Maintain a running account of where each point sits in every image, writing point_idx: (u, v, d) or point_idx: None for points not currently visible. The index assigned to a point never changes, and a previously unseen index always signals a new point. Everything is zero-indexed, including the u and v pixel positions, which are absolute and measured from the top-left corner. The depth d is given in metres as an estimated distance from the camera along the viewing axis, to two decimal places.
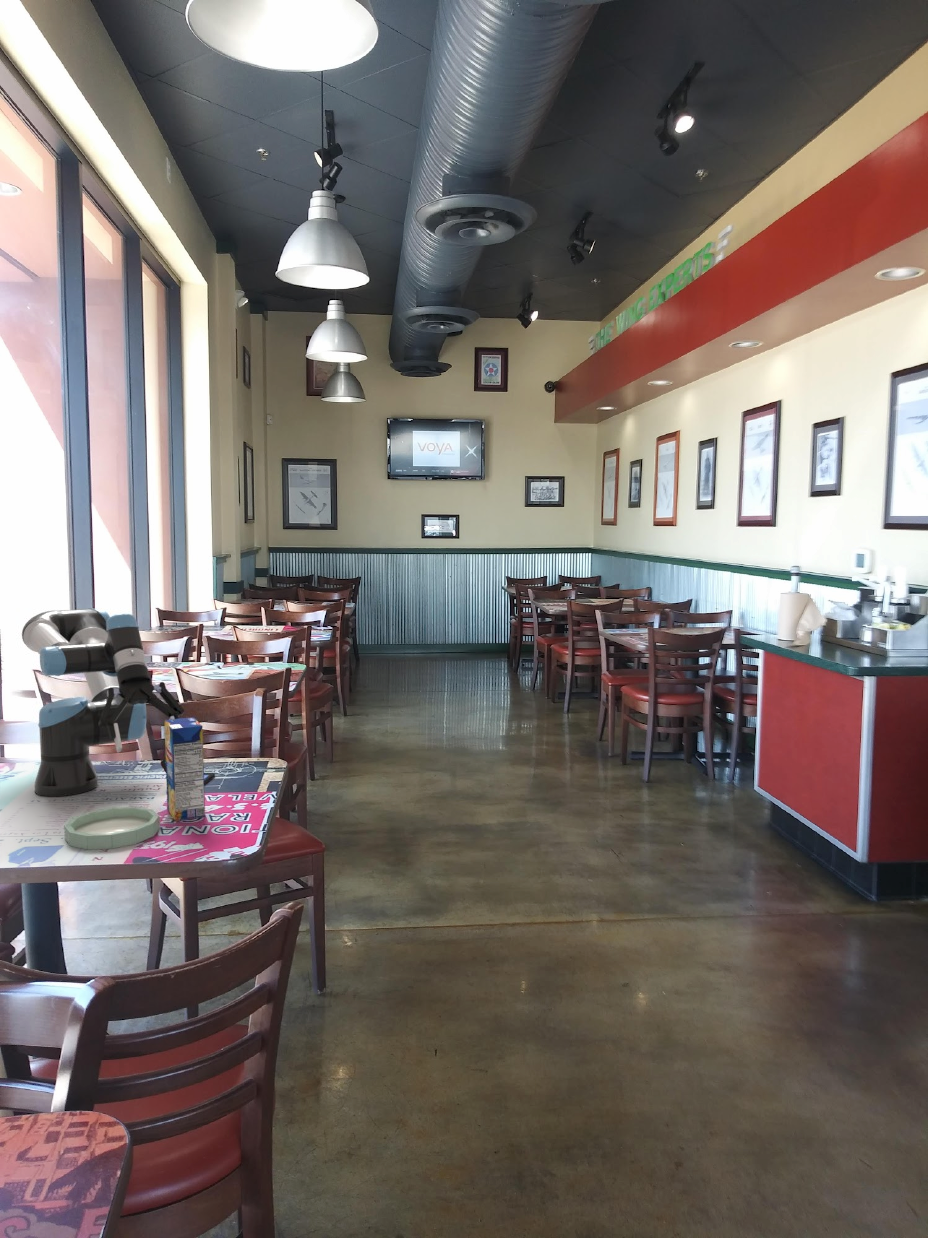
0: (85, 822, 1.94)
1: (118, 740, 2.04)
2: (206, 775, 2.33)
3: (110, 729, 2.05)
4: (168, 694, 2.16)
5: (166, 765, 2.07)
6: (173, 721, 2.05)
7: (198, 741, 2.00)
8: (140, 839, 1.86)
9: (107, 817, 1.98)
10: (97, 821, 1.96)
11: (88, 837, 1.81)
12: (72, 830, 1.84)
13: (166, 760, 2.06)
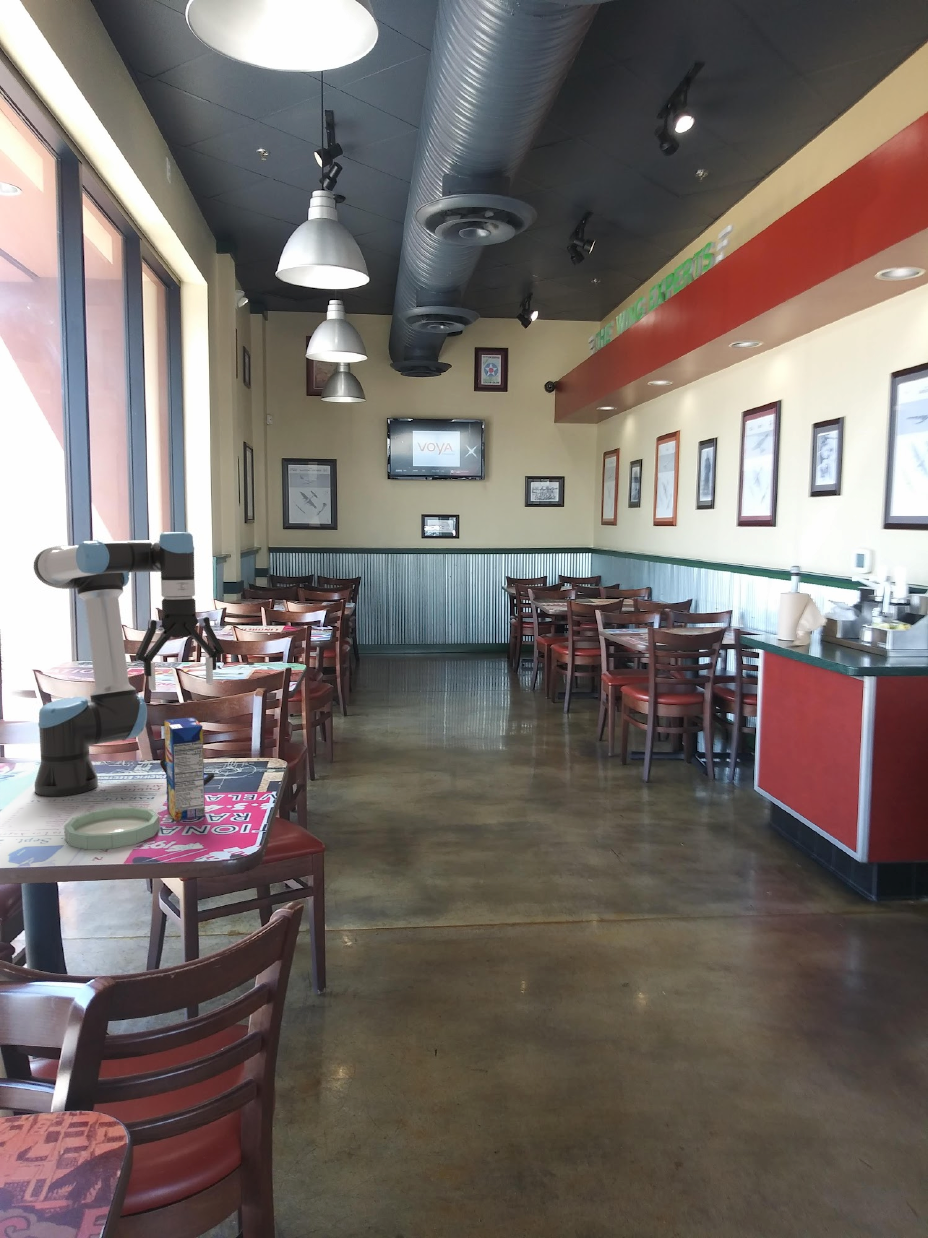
0: (85, 822, 1.94)
1: (153, 682, 1.97)
2: (205, 775, 2.33)
3: (146, 668, 1.96)
4: (211, 632, 2.04)
5: (166, 765, 2.07)
6: (173, 721, 2.05)
7: (198, 741, 2.00)
8: (140, 839, 1.86)
9: (107, 817, 1.98)
10: (97, 821, 1.96)
11: (88, 837, 1.81)
12: (72, 830, 1.84)
13: (166, 760, 2.06)
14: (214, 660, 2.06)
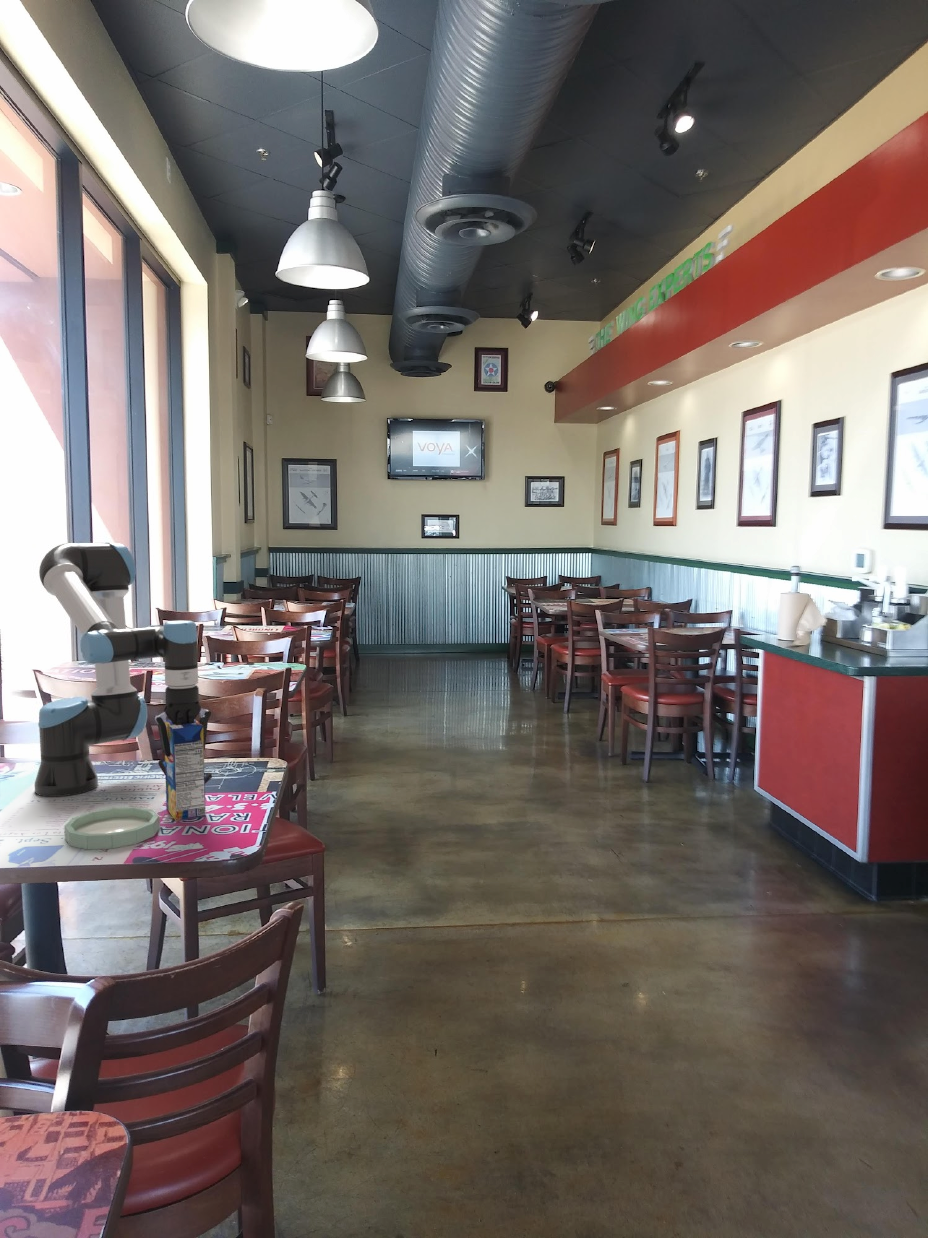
0: (85, 822, 1.94)
1: None
2: None
3: None
4: (205, 726, 2.05)
5: (165, 765, 2.06)
6: None
7: (199, 741, 2.00)
8: (140, 839, 1.86)
9: (107, 817, 1.98)
10: (97, 821, 1.96)
11: (88, 837, 1.81)
12: (72, 830, 1.84)
13: (165, 760, 2.06)
14: None
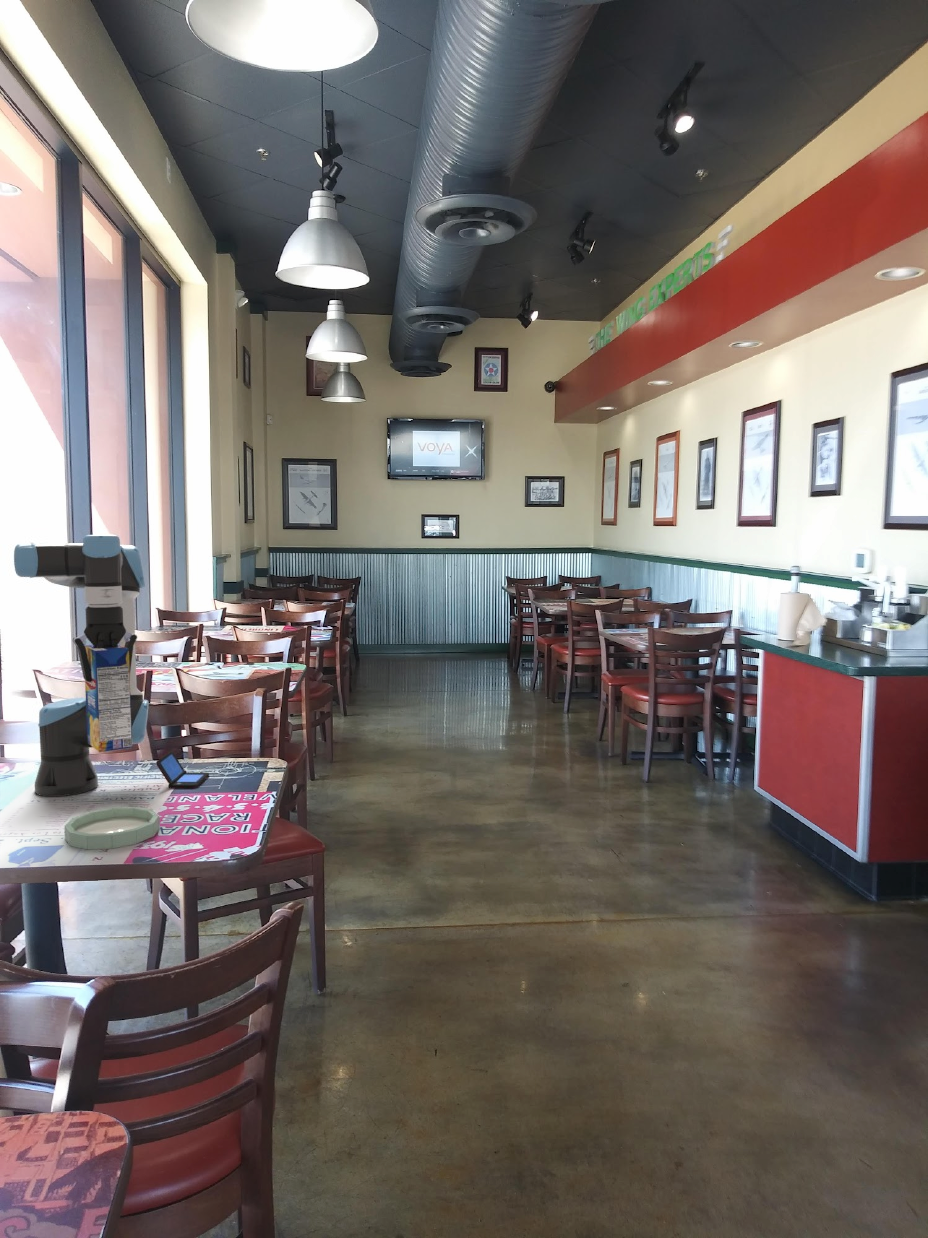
0: (85, 822, 1.94)
1: None
2: (201, 775, 2.34)
3: None
4: (130, 651, 1.89)
5: (86, 695, 1.89)
6: None
7: (124, 665, 1.84)
8: (140, 839, 1.86)
9: (107, 817, 1.98)
10: (97, 821, 1.96)
11: (88, 837, 1.81)
12: (72, 830, 1.84)
13: (86, 689, 1.89)
14: None
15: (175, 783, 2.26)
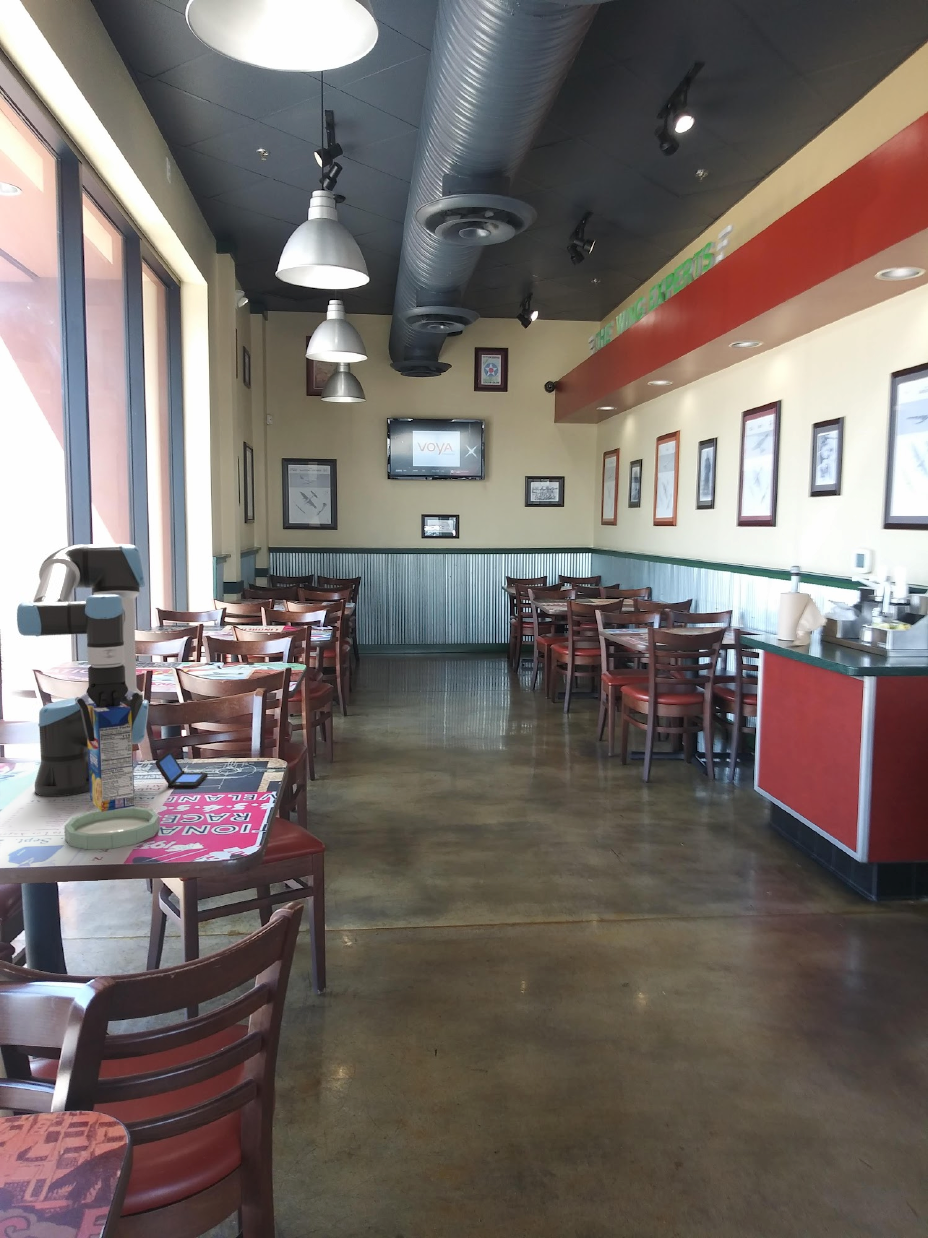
0: (85, 822, 1.94)
1: None
2: (199, 775, 2.34)
3: None
4: (132, 709, 1.90)
5: (88, 753, 1.90)
6: None
7: (127, 725, 1.85)
8: (140, 839, 1.86)
9: (107, 817, 1.98)
10: (97, 821, 1.96)
11: (88, 837, 1.81)
12: (72, 830, 1.84)
13: (88, 747, 1.90)
14: None
15: (174, 783, 2.26)
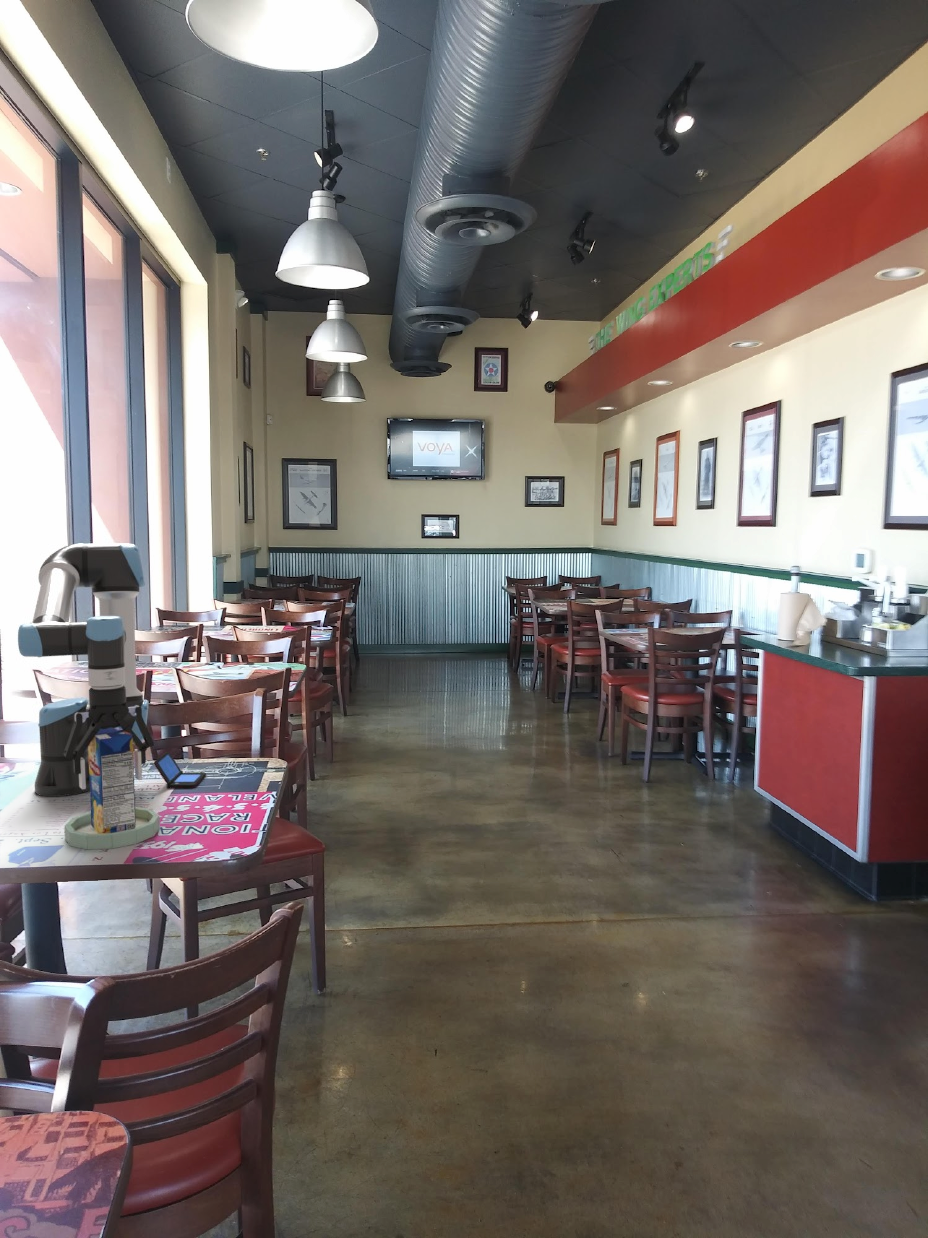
0: (85, 822, 1.94)
1: (82, 780, 1.85)
2: (198, 775, 2.34)
3: (76, 765, 1.84)
4: (142, 723, 1.91)
5: (90, 779, 1.91)
6: (98, 731, 1.90)
7: (128, 752, 1.86)
8: (140, 839, 1.86)
9: None
10: None
11: (88, 837, 1.81)
12: (72, 830, 1.84)
13: (90, 773, 1.91)
14: (143, 753, 1.93)
15: (173, 783, 2.26)
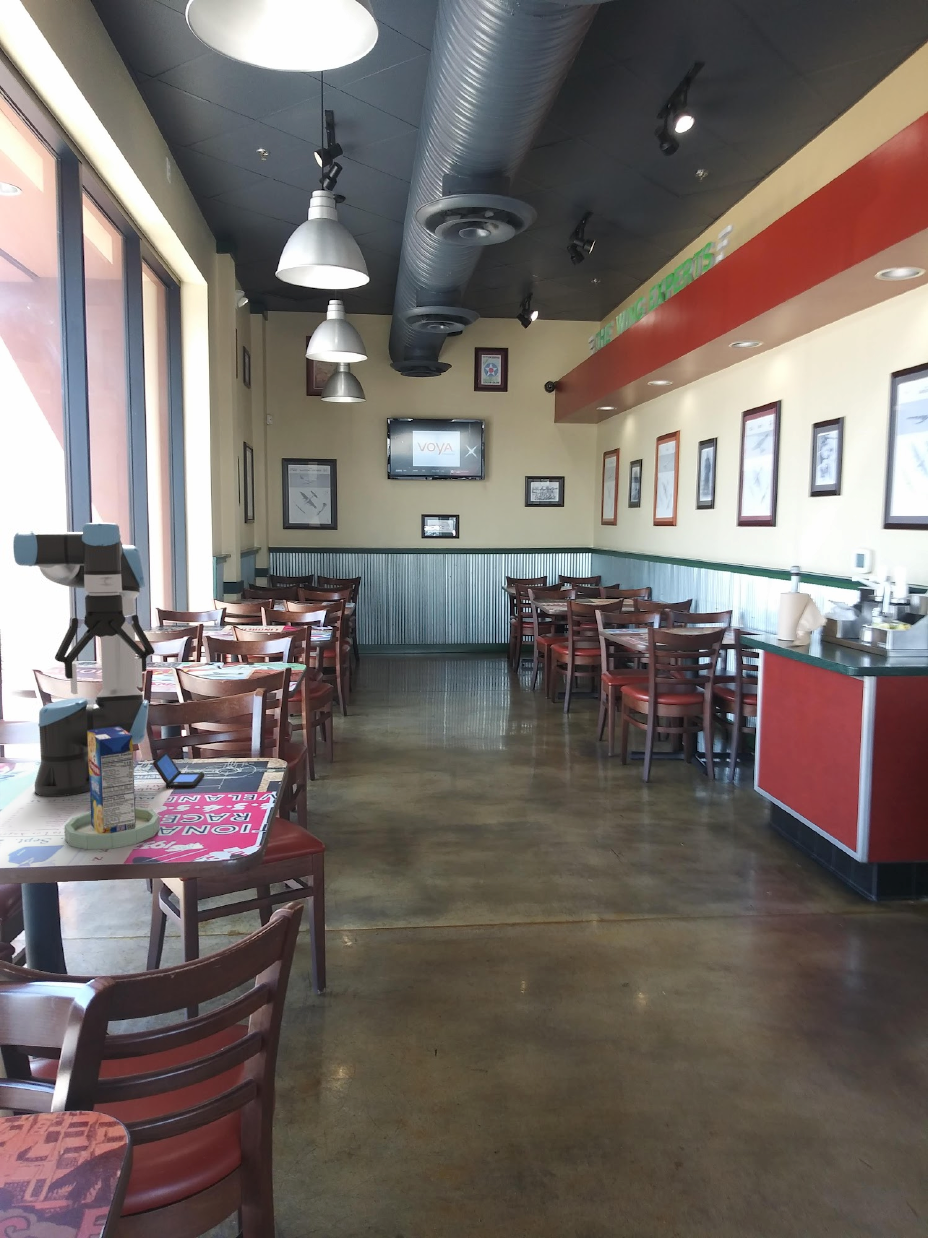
0: (85, 822, 1.94)
1: (74, 685, 1.82)
2: (196, 774, 2.34)
3: (67, 669, 1.82)
4: (140, 631, 1.90)
5: (90, 779, 1.91)
6: (98, 731, 1.90)
7: (128, 752, 1.86)
8: (140, 839, 1.86)
9: None
10: None
11: (88, 837, 1.81)
12: (72, 830, 1.84)
13: (90, 773, 1.91)
14: (144, 661, 1.91)
15: (172, 783, 2.26)
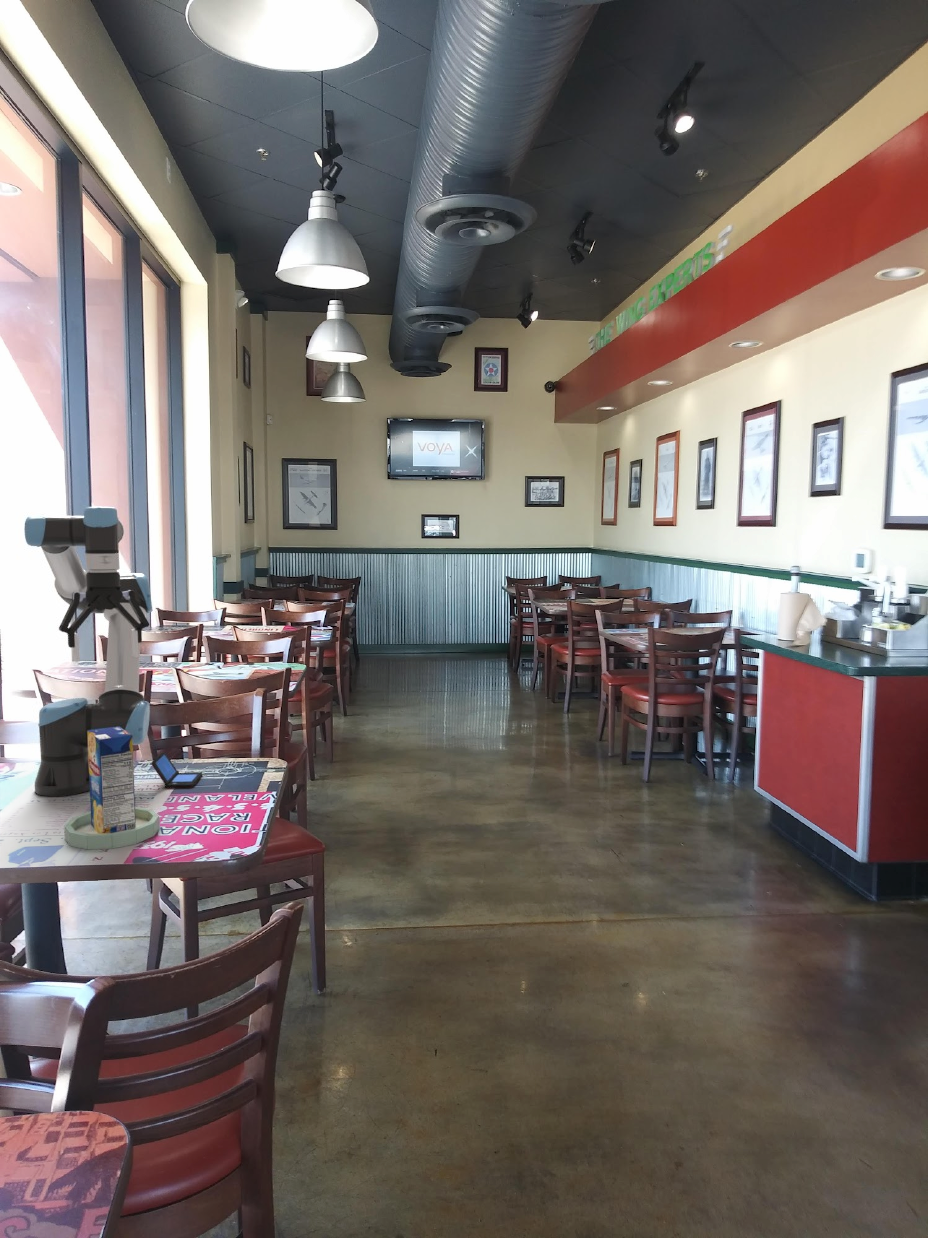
0: (85, 822, 1.94)
1: (76, 653, 2.01)
2: (194, 774, 2.34)
3: (70, 639, 2.01)
4: (136, 605, 2.09)
5: (90, 779, 1.91)
6: (98, 731, 1.90)
7: (128, 752, 1.86)
8: (140, 839, 1.86)
9: None
10: None
11: (88, 837, 1.81)
12: (72, 830, 1.84)
13: (90, 773, 1.91)
14: (139, 633, 2.10)
15: (171, 783, 2.26)
